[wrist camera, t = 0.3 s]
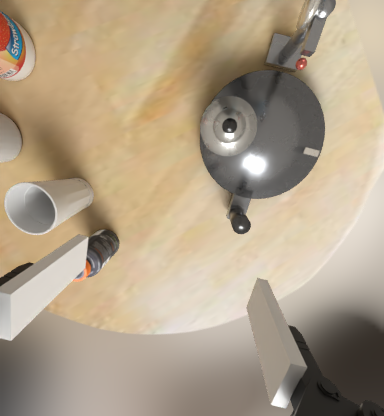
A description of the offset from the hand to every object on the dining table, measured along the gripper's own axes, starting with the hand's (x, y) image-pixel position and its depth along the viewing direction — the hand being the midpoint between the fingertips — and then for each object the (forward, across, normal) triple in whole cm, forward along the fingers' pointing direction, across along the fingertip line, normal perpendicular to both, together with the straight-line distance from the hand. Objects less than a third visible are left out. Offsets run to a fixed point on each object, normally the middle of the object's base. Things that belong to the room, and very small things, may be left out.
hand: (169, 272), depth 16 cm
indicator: (+26, +9, +24) cm, 37 cm away
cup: (+26, -22, -5) cm, 35 cm away
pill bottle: (+26, -16, -14) cm, 34 cm away
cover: (+23, +3, +13) cm, 27 cm away
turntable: (+25, +9, +10) cm, 28 cm away
